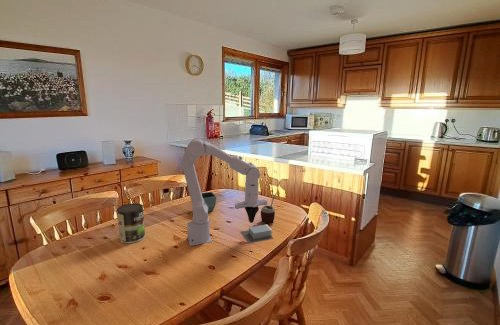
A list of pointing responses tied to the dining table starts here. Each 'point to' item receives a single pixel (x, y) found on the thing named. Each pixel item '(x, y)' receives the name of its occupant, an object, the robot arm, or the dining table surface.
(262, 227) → the slab
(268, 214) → the mate gourd
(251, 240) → the mat
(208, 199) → the flower pot
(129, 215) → the coffee can
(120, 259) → the dining table surface
